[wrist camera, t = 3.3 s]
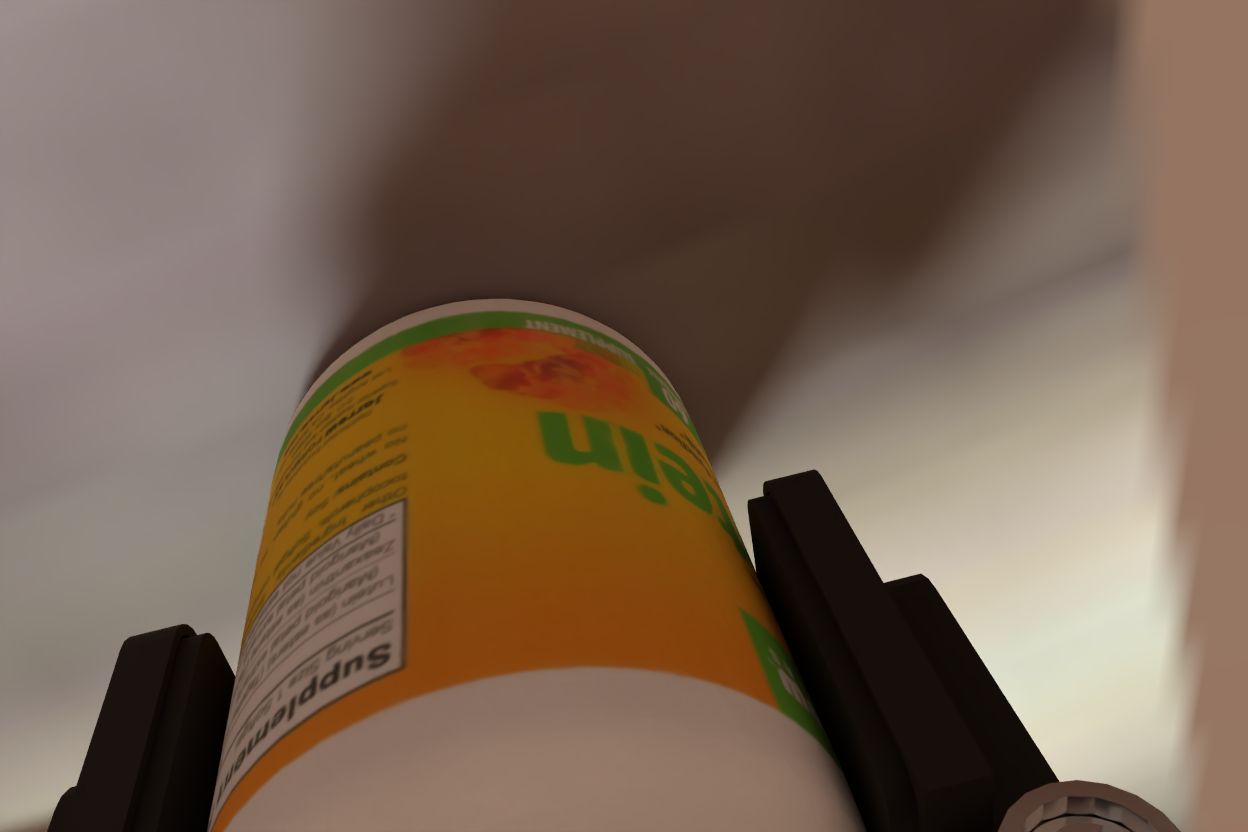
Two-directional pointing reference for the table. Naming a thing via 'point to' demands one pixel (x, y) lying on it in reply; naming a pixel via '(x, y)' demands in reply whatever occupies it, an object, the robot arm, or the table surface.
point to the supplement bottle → (511, 604)
